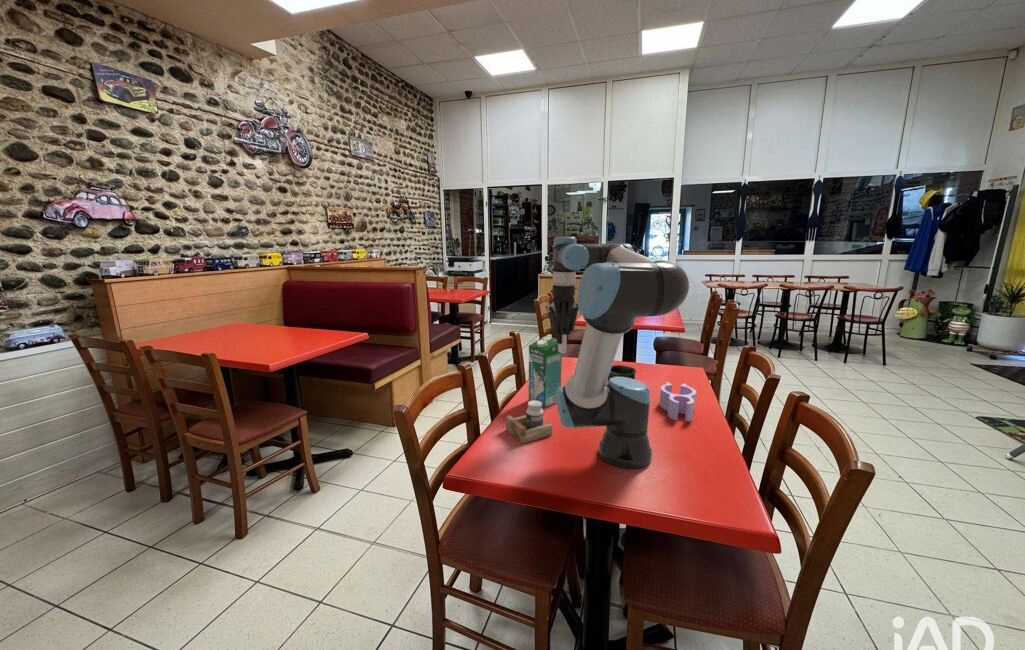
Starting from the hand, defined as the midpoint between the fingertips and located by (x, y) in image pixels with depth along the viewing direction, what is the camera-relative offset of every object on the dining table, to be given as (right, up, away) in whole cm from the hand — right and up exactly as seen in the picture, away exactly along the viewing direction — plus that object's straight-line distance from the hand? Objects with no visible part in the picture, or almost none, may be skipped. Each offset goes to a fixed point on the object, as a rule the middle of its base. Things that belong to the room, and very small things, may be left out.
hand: (562, 352), depth 139 cm
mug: (+24, -20, +23) cm, 39 cm away
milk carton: (-5, -21, +20) cm, 29 cm away
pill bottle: (-10, -26, -4) cm, 28 cm away
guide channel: (-11, -26, -5) cm, 29 cm away
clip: (+45, -23, +12) cm, 52 cm away
